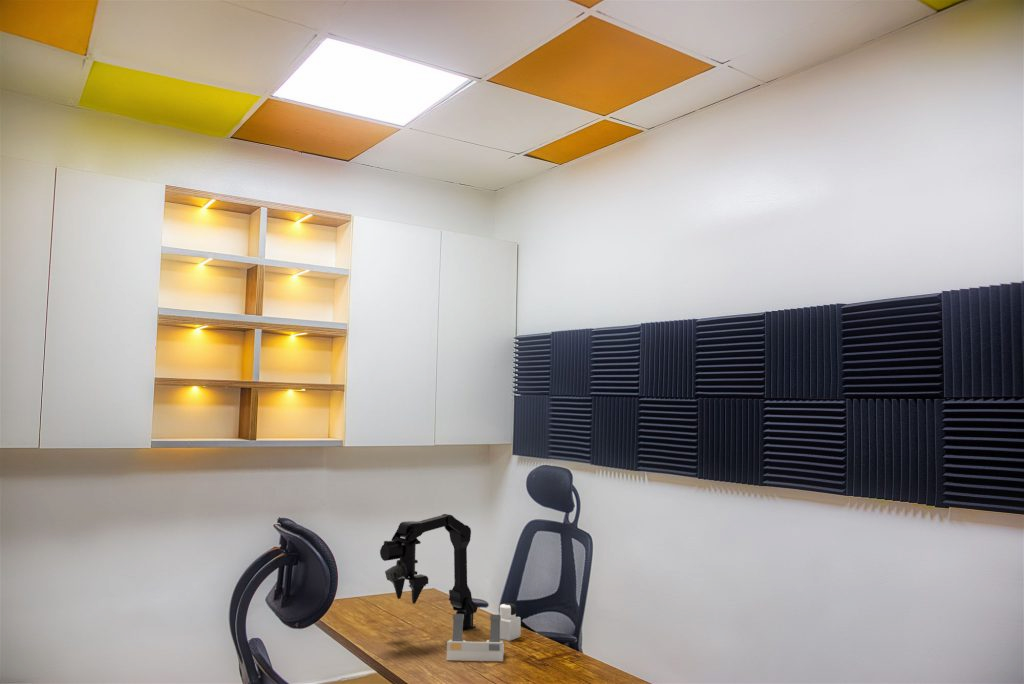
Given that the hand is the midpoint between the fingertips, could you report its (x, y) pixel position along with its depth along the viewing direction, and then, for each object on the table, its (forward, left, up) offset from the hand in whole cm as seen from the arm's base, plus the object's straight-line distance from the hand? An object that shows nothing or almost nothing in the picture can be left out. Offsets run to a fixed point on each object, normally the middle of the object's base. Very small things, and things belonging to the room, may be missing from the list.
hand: (406, 601), depth 273 cm
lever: (-14, +32, -11) cm, 37 cm away
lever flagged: (-5, +23, -11) cm, 26 cm away
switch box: (-9, +29, -15) cm, 33 cm away
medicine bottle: (-32, +20, -15) cm, 41 cm away
